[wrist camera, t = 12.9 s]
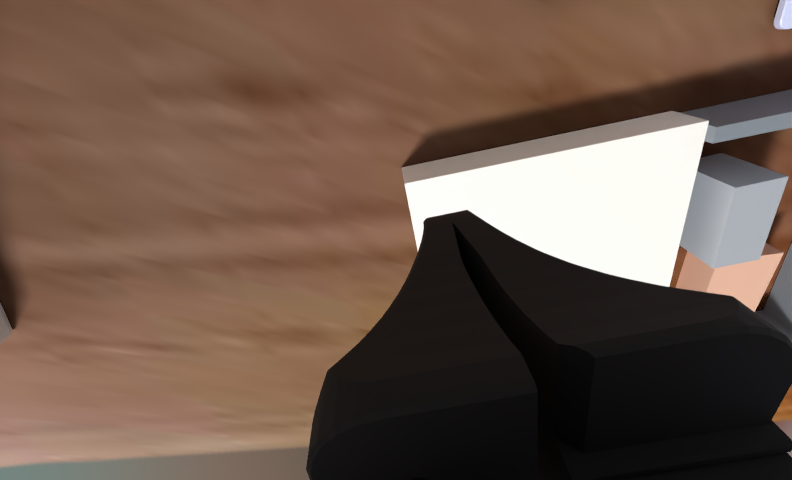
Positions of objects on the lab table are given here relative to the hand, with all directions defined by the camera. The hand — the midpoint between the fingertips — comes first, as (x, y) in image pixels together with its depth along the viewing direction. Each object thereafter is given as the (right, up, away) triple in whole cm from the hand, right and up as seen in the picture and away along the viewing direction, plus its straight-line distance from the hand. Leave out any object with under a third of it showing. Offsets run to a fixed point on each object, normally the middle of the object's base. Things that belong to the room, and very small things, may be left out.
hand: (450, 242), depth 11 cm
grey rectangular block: (+16, +2, +10) cm, 18 cm away
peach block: (+20, -3, +13) cm, 24 cm away
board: (+8, -2, +14) cm, 16 cm away
